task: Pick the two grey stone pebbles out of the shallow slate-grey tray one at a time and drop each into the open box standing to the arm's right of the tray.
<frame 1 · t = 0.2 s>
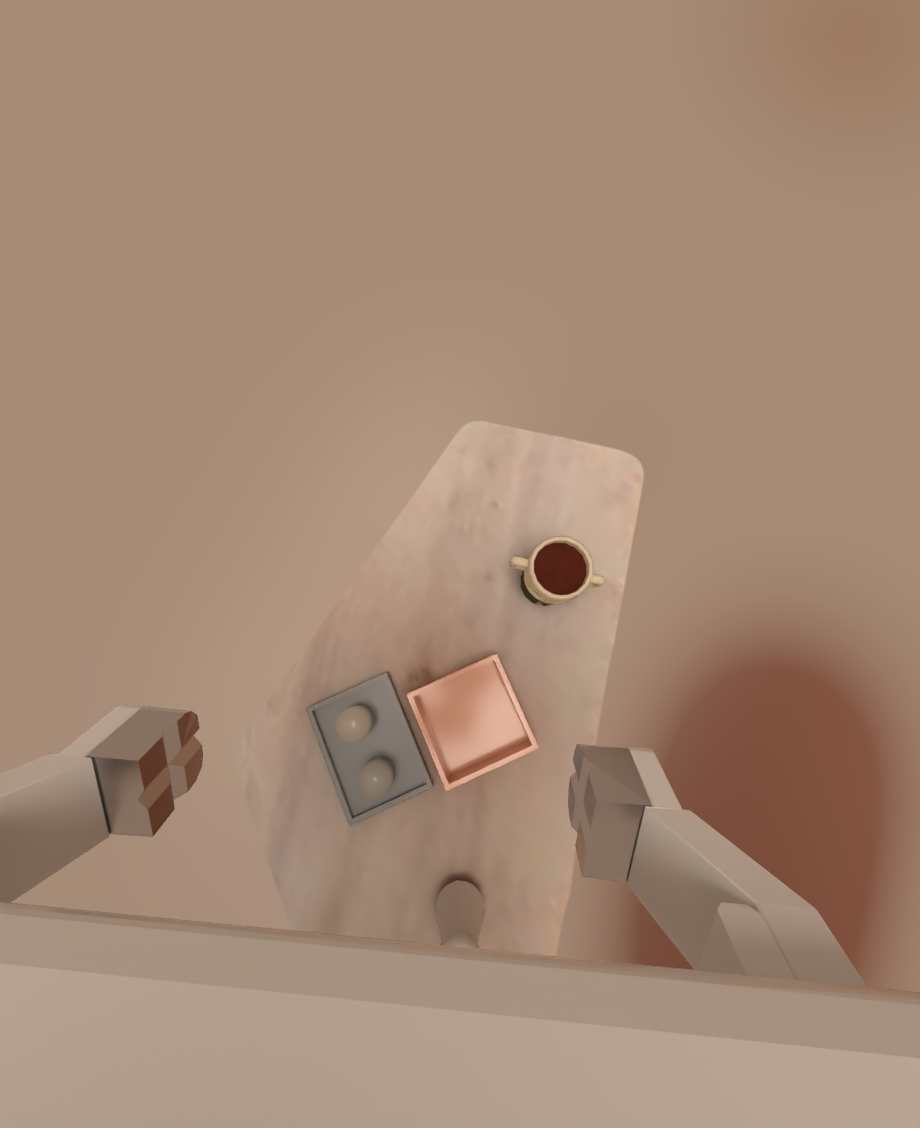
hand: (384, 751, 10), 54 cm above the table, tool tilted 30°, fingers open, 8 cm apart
tray: (370, 744, 62), on the table
pebble a: (380, 772, 61), resting on tray
salt shaker: (460, 897, 59), on the table
character mug: (542, 583, 65), on the table
open box: (471, 716, 62), on the table
pebble b: (359, 719, 62), resting on tray
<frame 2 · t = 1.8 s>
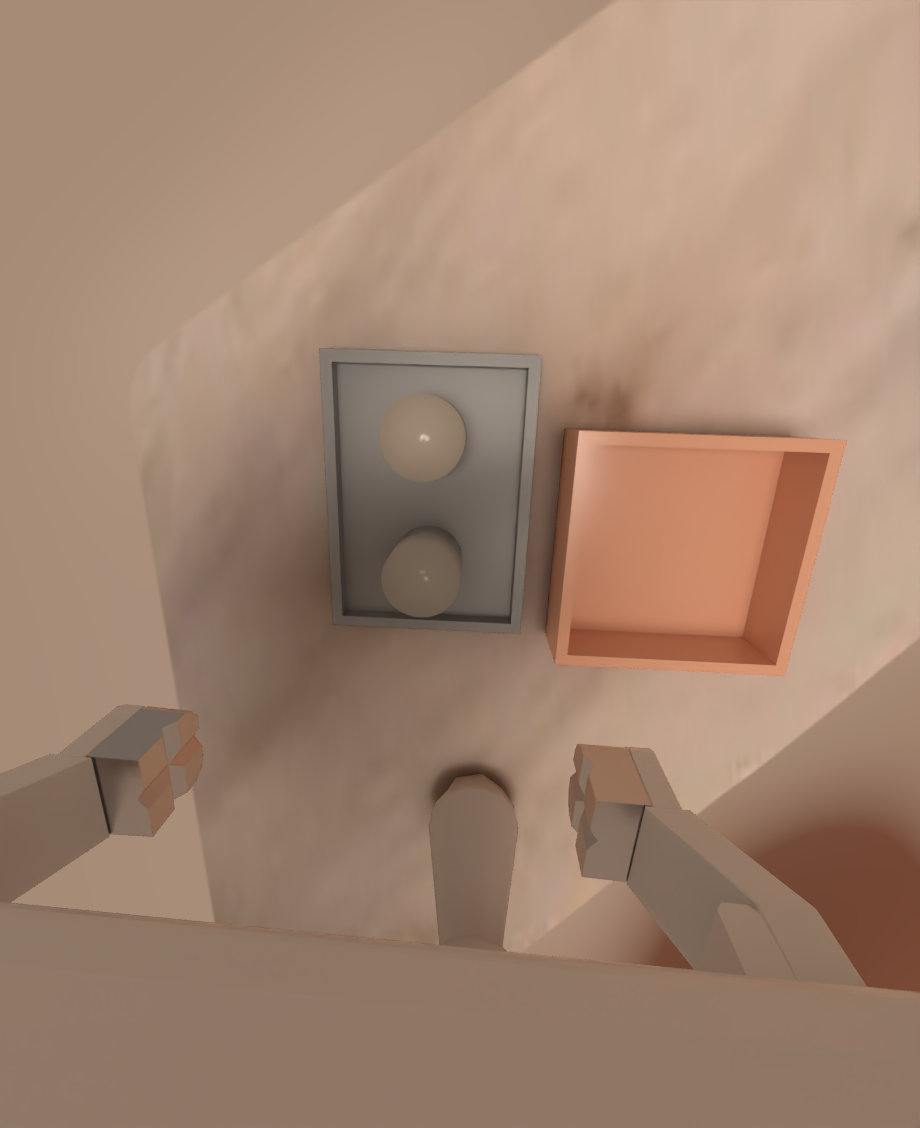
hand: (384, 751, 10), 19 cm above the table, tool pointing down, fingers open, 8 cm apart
tray: (430, 498, 27), on the table
pebble a: (428, 558, 28), resting on tray
salt shaker: (474, 795, 34), on the table
open box: (660, 541, 28), on the table
pebble b: (430, 435, 26), resting on tray
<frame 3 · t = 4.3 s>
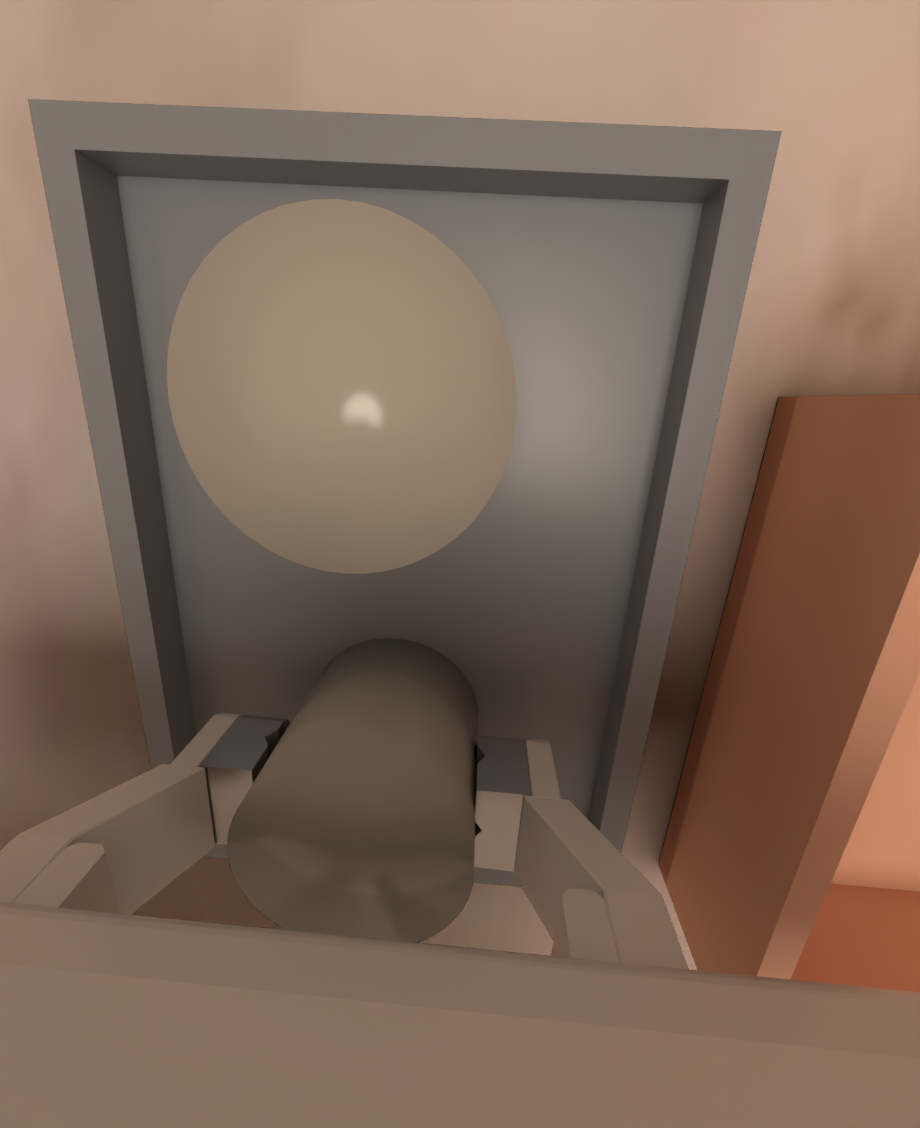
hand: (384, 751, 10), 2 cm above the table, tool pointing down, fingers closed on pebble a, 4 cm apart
tray: (401, 568, 11), on the table
pebble a: (395, 713, 11), resting on tray, touching gripper
pebble b: (400, 406, 9), resting on tray
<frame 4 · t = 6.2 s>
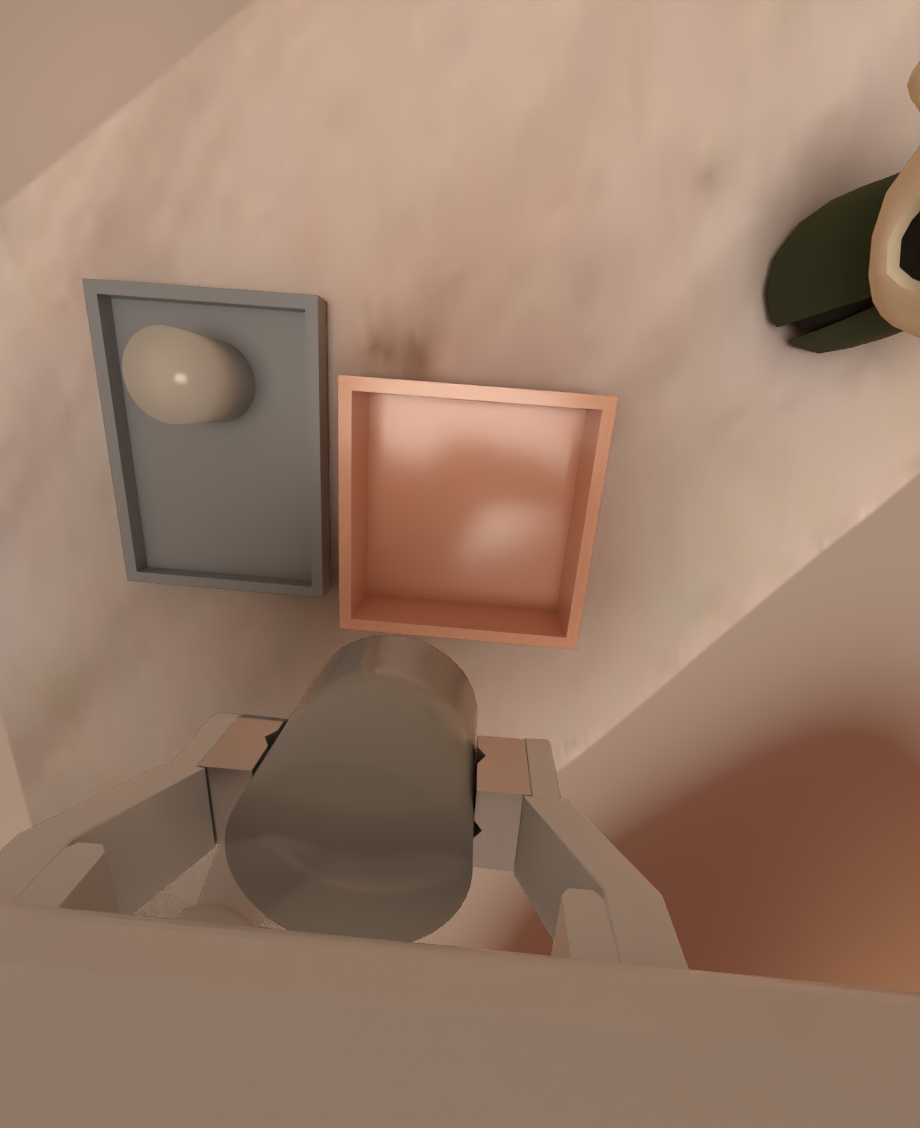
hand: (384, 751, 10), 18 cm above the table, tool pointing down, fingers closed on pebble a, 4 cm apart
tray: (226, 450, 26), on the table
pebble a: (393, 710, 11), point 16 cm above the table, touching gripper
salt shaker: (301, 767, 33), on the table
character mug: (827, 282, 23), on the table
open box: (468, 506, 26), on the table
pebble b: (216, 381, 24), resting on tray
when the fingers open (5 cm above the table, at t = 8.6 s): pebble a drops 3 cm, resting on open box.
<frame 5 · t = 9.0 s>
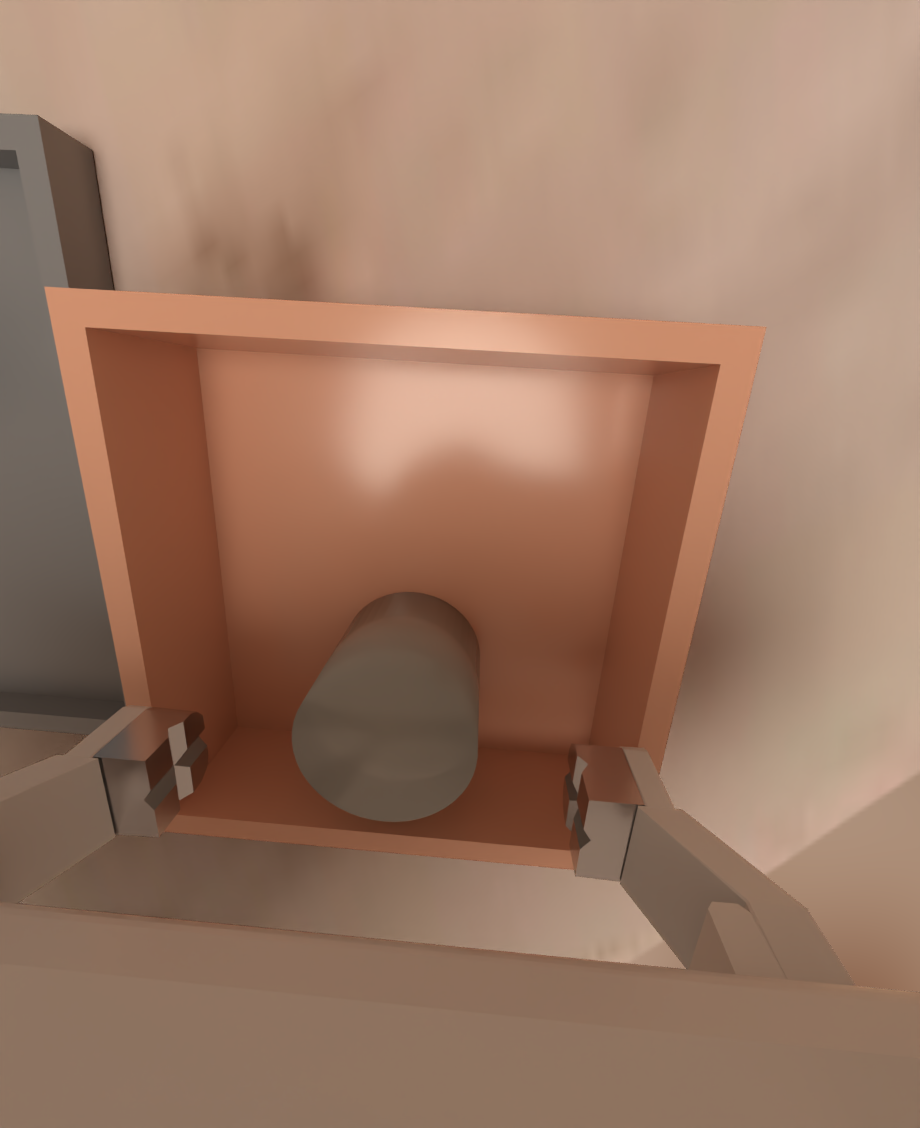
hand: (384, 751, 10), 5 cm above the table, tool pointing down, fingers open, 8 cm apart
pebble a: (411, 655, 14), point 1 cm above the table, touching open box
open box: (418, 569, 14), on the table
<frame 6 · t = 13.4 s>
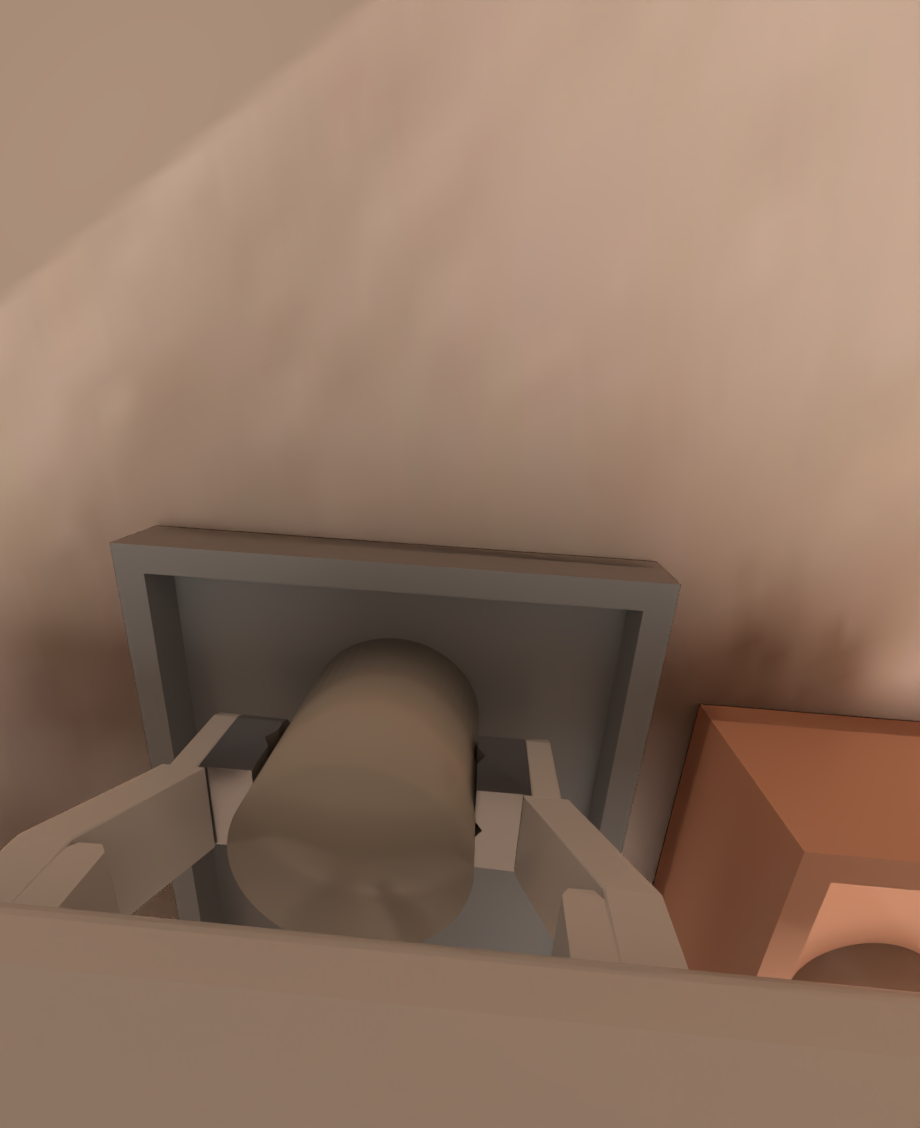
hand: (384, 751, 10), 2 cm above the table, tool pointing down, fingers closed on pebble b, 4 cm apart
tray: (396, 810, 13), on the table
pebble a: (860, 992, 13), point 1 cm above the table, touching open box
open box: (874, 909, 13), on the table
pebble b: (395, 713, 11), resting on tray, touching gripper
when the fingers open (5 cm above the table, at t = 17.6 s): pebble b drops 3 cm, resting on open box.
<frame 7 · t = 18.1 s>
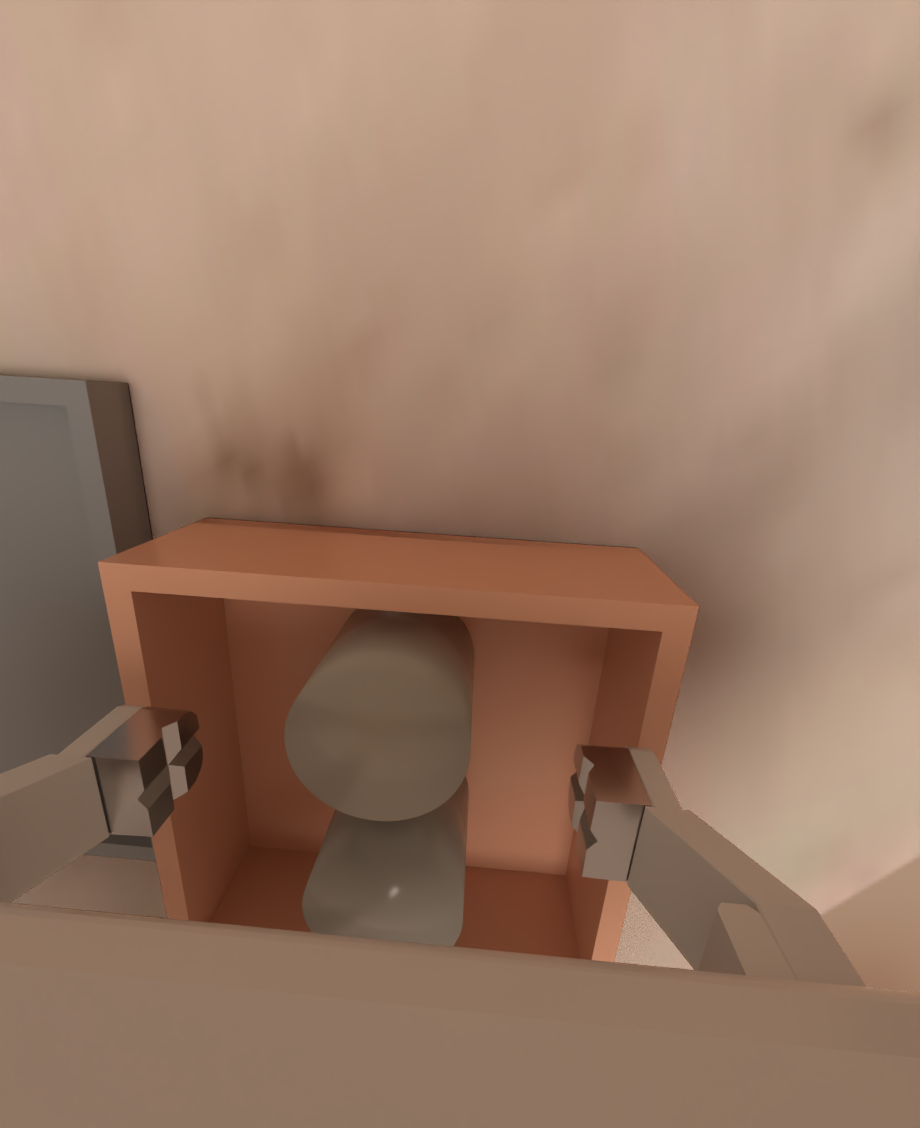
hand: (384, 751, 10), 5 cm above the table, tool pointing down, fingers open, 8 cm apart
pebble a: (407, 790, 16), point 1 cm above the table, touching open box
open box: (413, 716, 15), on the table
pebble b: (406, 655, 14), point 1 cm above the table, touching open box
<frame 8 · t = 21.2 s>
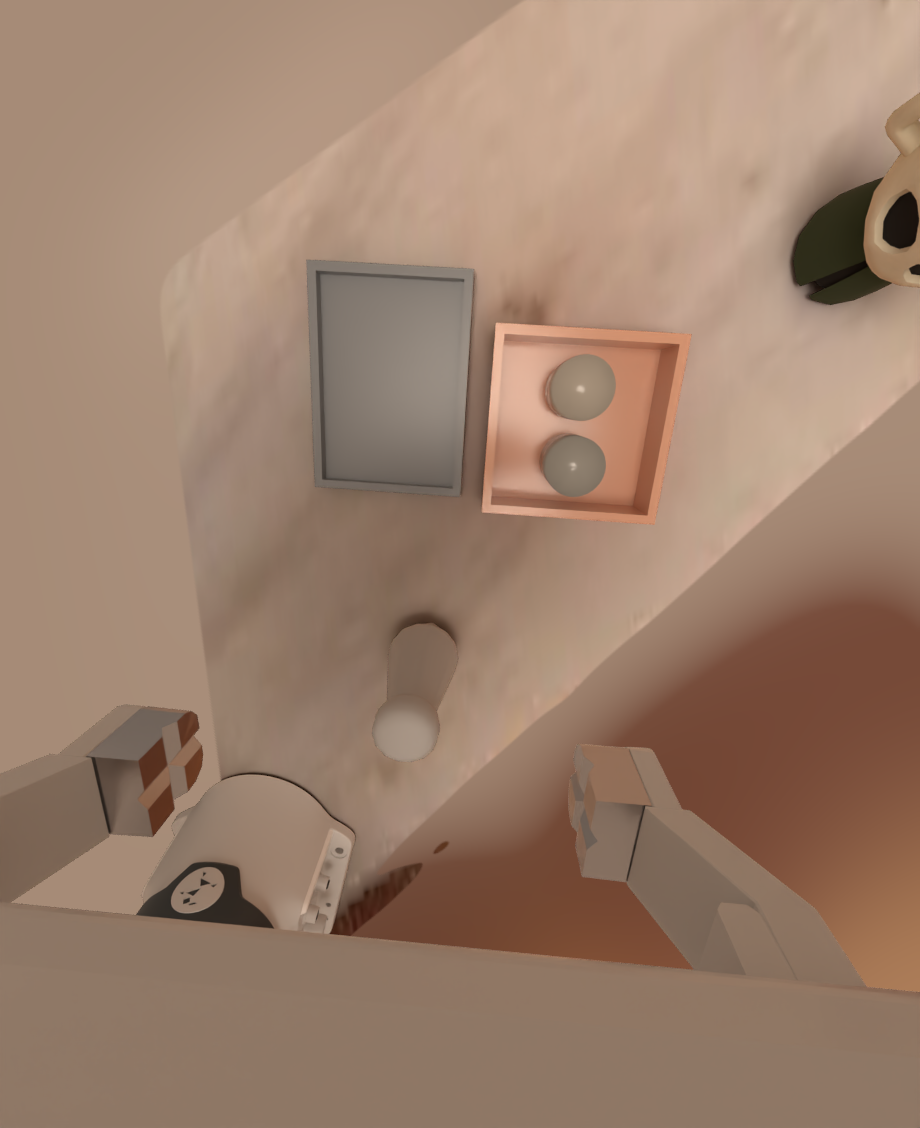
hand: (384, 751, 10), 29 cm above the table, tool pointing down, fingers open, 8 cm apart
tray: (391, 386, 35), on the table
pebble a: (566, 460, 36), point 1 cm above the table, touching open box
salt shaker: (427, 642, 42), on the table
character mug: (836, 253, 32), on the table
open box: (569, 426, 36), on the table
pebble b: (573, 390, 34), point 1 cm above the table, touching open box
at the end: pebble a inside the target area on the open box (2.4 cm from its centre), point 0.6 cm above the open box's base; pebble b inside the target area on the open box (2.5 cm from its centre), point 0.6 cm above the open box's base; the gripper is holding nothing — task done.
